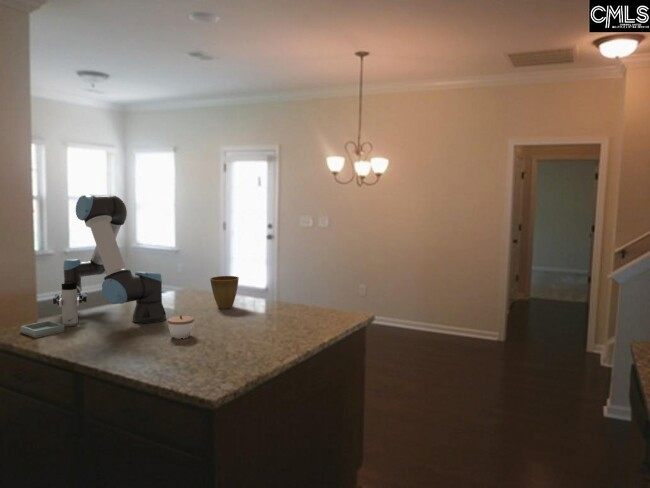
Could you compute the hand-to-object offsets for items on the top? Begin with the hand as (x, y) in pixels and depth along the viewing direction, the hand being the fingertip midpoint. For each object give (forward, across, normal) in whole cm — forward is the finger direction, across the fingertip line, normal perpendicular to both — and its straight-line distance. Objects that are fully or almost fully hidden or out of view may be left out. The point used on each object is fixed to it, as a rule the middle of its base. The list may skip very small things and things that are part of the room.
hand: (69, 303), depth 216 cm
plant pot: (-15, -73, -11) cm, 75 cm away
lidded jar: (+32, -44, -11) cm, 55 cm away
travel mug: (-5, 0, -11) cm, 12 cm away
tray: (+3, +10, -11) cm, 15 cm away
